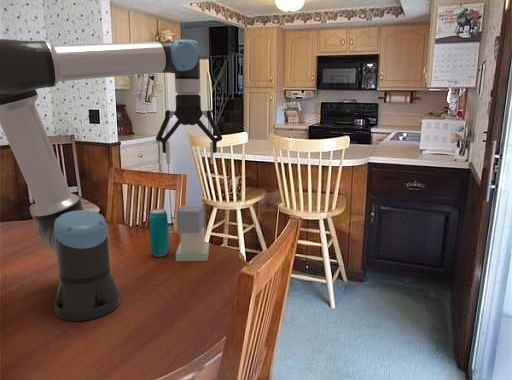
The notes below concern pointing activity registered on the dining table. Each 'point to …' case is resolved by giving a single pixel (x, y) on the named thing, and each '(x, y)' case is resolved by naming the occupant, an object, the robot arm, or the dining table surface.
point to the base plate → (192, 254)
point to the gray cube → (190, 219)
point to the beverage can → (158, 232)
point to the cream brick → (192, 242)
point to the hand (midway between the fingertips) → (190, 163)
